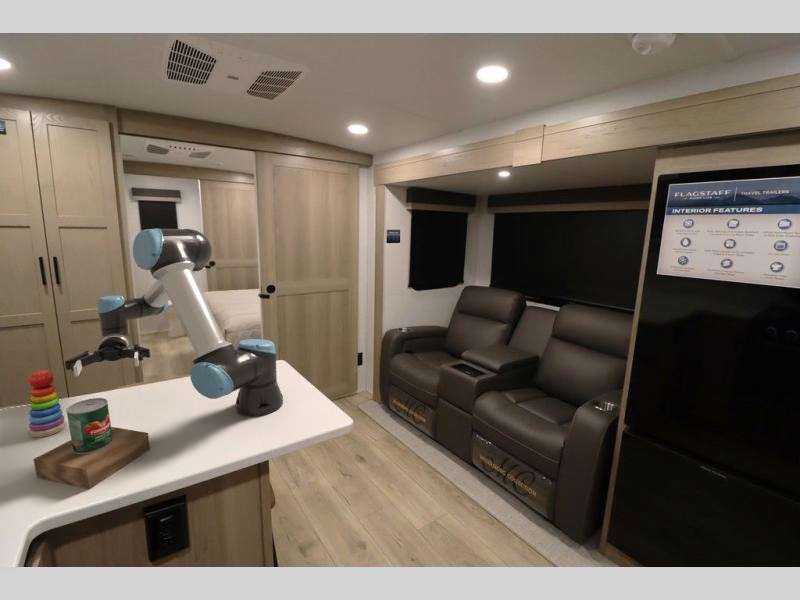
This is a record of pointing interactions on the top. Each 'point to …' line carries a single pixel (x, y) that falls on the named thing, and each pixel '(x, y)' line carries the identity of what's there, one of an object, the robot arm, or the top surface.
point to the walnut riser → (91, 460)
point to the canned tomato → (89, 425)
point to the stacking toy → (44, 406)
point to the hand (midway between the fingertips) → (107, 366)
